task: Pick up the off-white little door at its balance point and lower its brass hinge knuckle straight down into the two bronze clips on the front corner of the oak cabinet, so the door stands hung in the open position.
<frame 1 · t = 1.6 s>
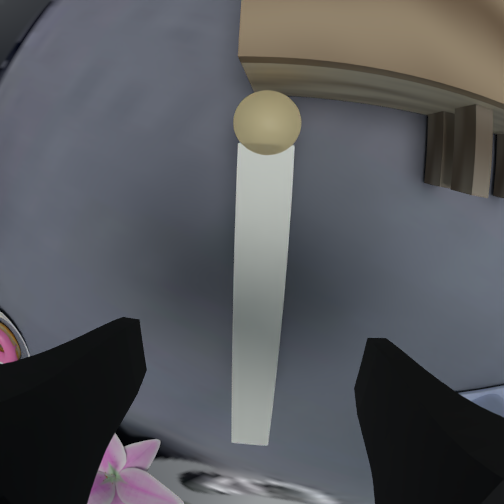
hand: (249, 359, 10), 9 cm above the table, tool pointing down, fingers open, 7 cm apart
cabinet: (397, 44, 14), on the table
lily: (128, 443, 26), on the table
door: (264, 279, 19), on the table
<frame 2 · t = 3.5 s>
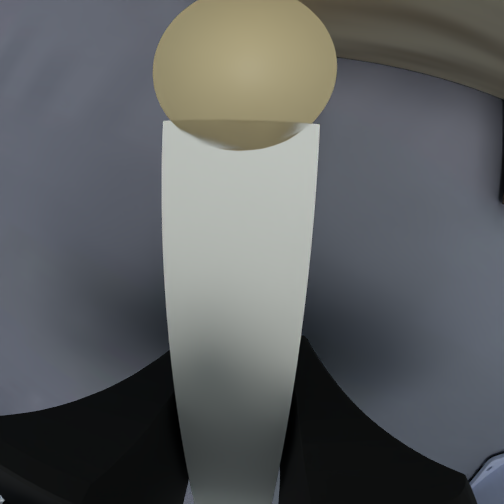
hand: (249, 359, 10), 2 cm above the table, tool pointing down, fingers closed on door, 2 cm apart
door: (253, 353, 12), on the table, touching gripper
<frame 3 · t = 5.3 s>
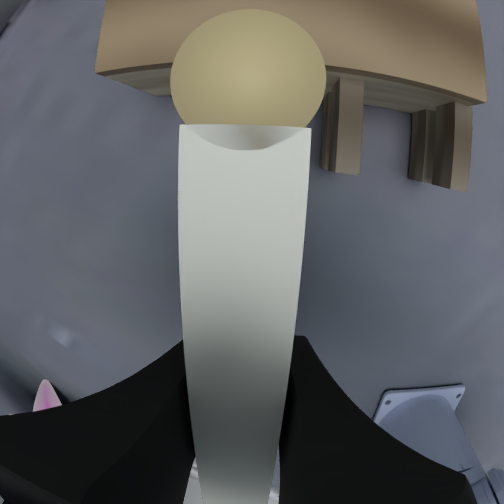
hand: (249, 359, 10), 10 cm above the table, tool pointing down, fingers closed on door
cabinet: (293, 33, 15), on the table
lily: (77, 417, 27), on the table
door: (254, 340, 12), point 8 cm above the table, touching gripper
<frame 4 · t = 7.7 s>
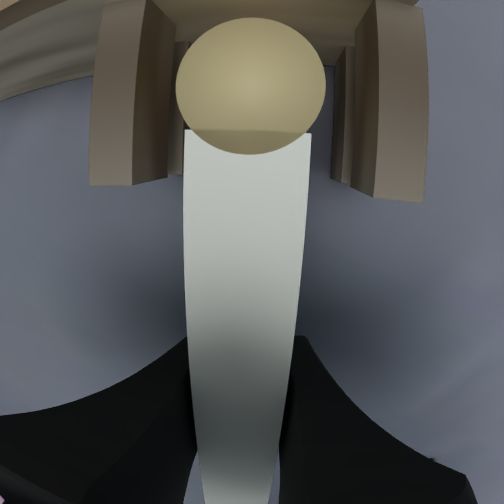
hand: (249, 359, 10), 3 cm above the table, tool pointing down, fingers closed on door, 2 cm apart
door: (255, 340, 13), on the table, touching gripper
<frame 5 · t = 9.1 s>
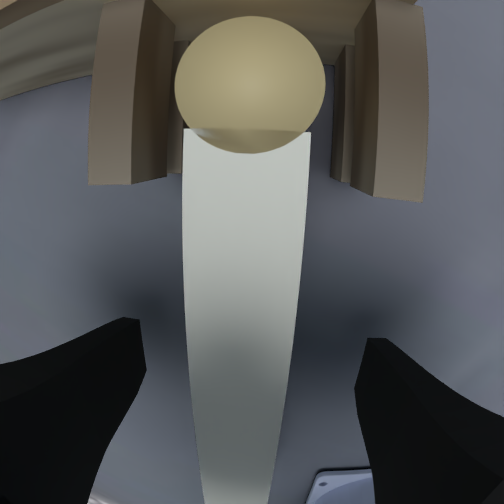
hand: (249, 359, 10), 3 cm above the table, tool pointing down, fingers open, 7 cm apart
door: (255, 339, 13), on the table
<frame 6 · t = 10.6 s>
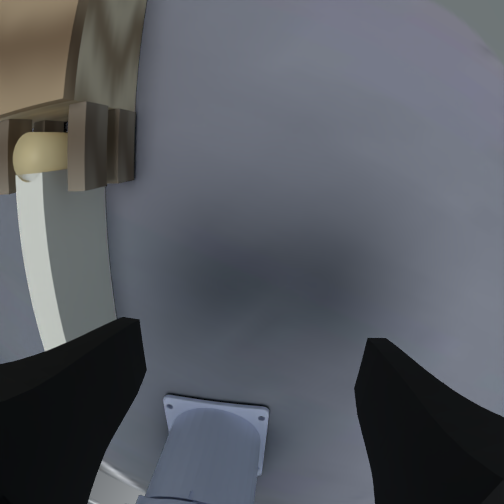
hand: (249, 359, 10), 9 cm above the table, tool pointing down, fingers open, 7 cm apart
cabinet: (42, 72, 16), on the table
door: (99, 278, 20), on the table
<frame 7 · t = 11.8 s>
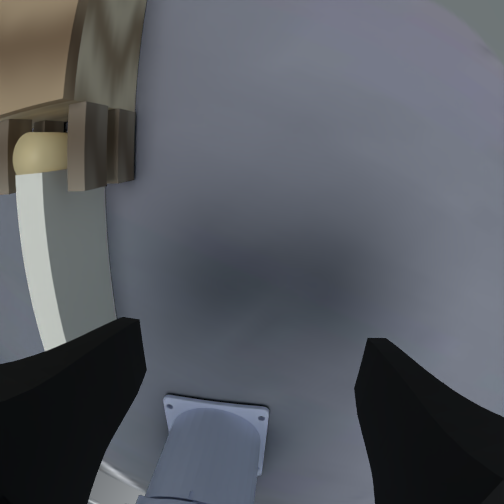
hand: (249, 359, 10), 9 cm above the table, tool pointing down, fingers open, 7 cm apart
cabinet: (42, 72, 16), on the table
door: (99, 278, 20), on the table
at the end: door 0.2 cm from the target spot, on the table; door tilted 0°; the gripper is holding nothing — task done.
